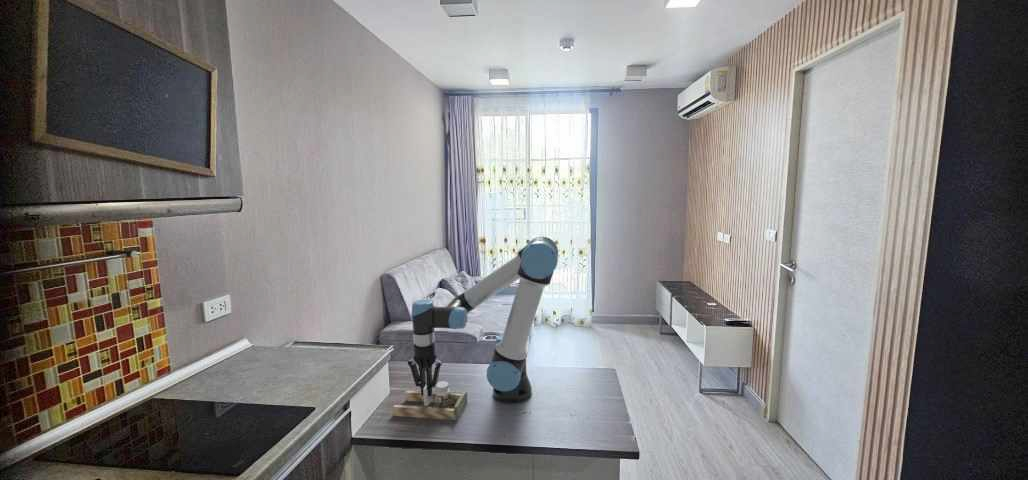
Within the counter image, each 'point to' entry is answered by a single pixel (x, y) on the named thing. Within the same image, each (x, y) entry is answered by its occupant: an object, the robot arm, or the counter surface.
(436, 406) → the pill bottle
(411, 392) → the bay
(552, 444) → the counter surface
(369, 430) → the counter surface
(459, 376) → the counter surface
